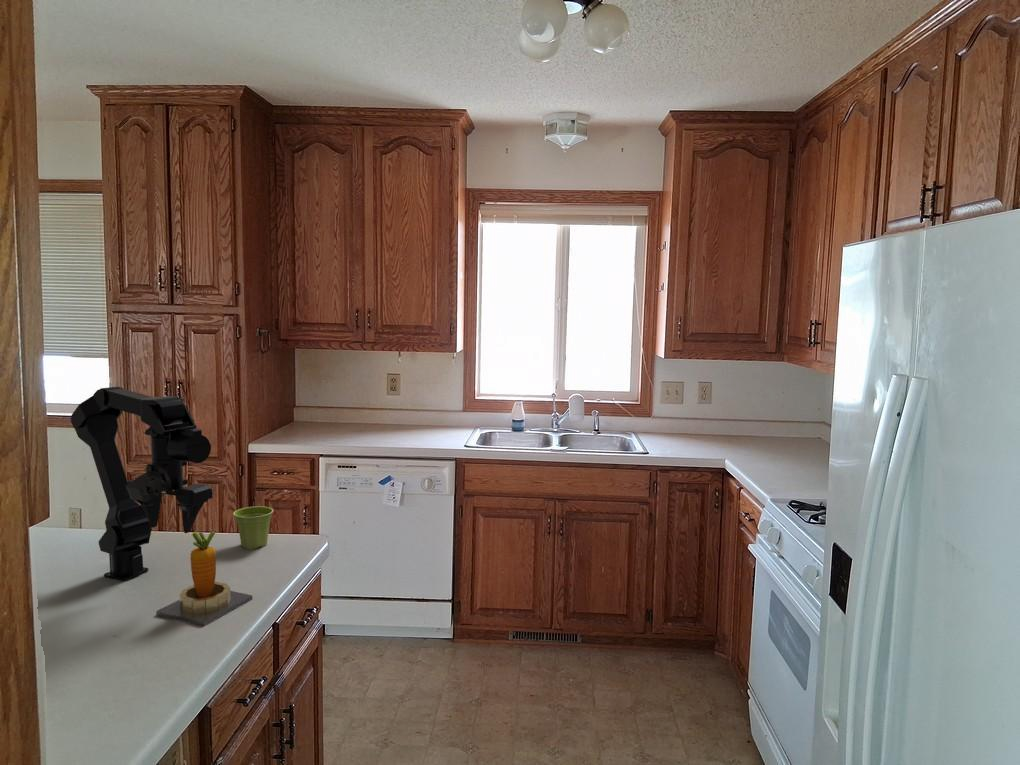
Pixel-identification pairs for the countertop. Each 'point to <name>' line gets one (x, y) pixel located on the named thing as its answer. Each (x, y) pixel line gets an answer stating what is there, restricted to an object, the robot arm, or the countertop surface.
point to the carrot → (203, 565)
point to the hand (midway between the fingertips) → (170, 529)
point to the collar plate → (203, 616)
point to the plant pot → (253, 525)
